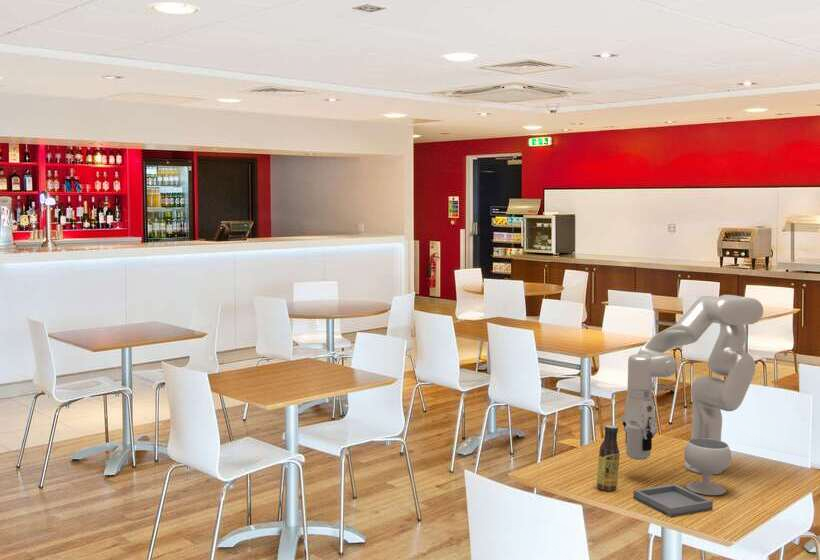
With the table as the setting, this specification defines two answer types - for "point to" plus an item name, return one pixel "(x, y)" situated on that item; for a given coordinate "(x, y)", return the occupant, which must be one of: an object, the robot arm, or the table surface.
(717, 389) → the robot arm
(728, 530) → the table surface
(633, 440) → the can
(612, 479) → the sauce bottle
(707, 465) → the chalice
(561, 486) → the table surface
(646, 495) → the tray
